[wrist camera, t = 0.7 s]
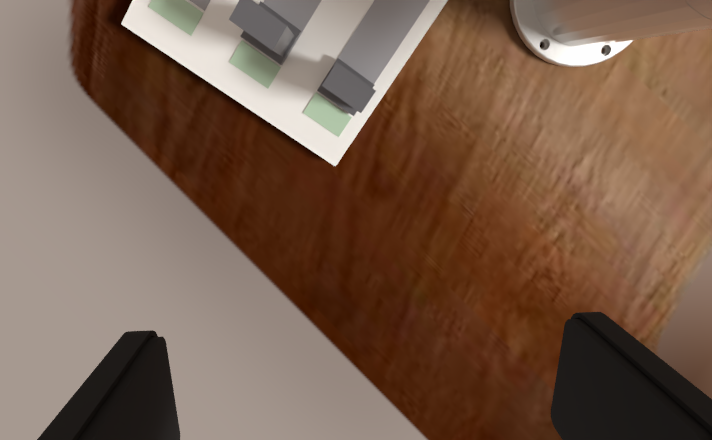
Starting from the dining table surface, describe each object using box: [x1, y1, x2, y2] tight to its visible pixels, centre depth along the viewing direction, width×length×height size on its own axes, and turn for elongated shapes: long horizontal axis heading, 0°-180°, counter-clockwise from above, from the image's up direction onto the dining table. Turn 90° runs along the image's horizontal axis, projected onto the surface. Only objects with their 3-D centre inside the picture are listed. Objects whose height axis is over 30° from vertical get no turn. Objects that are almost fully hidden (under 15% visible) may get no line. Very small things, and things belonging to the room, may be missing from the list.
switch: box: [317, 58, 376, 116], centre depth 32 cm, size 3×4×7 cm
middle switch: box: [229, 0, 301, 65], centre depth 30 cm, size 3×4×7 cm
